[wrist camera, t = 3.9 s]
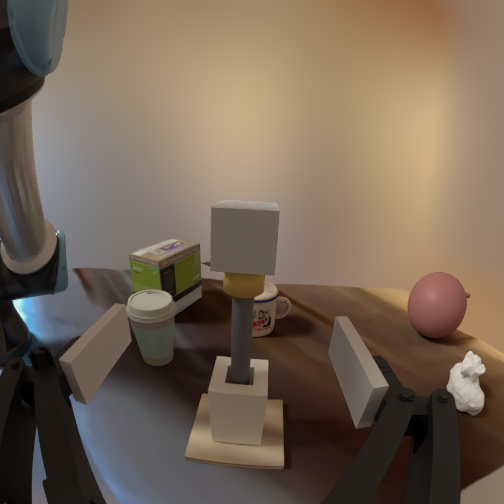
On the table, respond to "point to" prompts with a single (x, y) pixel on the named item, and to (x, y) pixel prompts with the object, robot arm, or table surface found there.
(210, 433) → the tan slab base
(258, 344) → the table surface
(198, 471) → the table surface
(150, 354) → the coffee cup
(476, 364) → the bust
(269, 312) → the teacup with lid
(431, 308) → the balloon
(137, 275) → the tea box
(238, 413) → the marker sleeve
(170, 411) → the table surface
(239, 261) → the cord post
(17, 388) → the robot arm
